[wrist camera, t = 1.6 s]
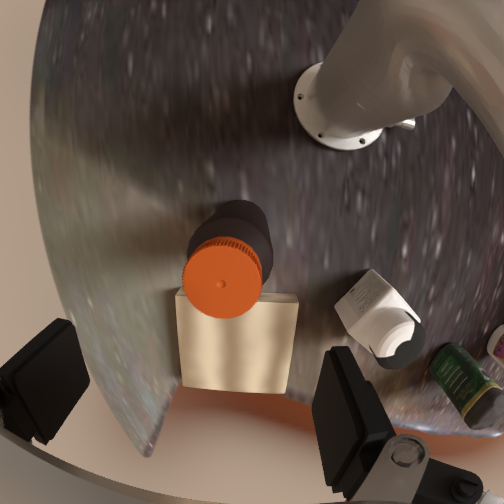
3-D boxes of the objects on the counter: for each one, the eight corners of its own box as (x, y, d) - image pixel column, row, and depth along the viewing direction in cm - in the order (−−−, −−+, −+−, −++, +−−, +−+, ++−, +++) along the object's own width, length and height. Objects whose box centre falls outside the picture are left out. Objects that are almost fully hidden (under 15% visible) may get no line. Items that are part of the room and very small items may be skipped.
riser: (295, 294, 38) (298, 303, 35) (283, 381, 42) (284, 393, 40) (180, 286, 38) (175, 295, 35) (186, 374, 43) (183, 385, 40)
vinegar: (203, 226, 36) (146, 282, 17) (240, 188, 35) (218, 202, 15) (241, 261, 37) (225, 350, 18) (278, 225, 36) (301, 283, 17)
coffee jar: (421, 369, 42) (466, 435, 24) (446, 336, 40) (502, 396, 22) (445, 379, 43) (486, 436, 25) (468, 349, 41) (517, 402, 23)
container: (398, 298, 38) (441, 342, 26) (363, 333, 40) (394, 386, 27) (370, 267, 37) (414, 306, 25) (332, 305, 39) (360, 358, 26)
